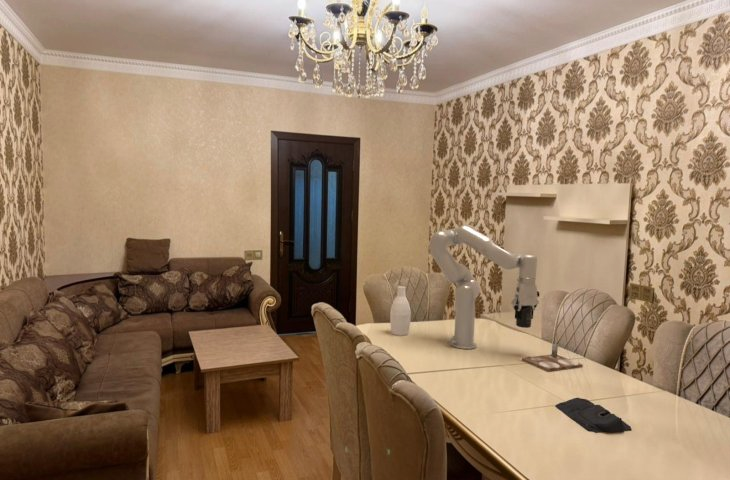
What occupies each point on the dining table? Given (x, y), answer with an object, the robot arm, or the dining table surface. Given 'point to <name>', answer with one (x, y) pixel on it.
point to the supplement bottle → (525, 317)
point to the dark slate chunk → (592, 416)
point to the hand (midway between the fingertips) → (523, 318)
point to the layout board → (552, 361)
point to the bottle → (400, 313)
